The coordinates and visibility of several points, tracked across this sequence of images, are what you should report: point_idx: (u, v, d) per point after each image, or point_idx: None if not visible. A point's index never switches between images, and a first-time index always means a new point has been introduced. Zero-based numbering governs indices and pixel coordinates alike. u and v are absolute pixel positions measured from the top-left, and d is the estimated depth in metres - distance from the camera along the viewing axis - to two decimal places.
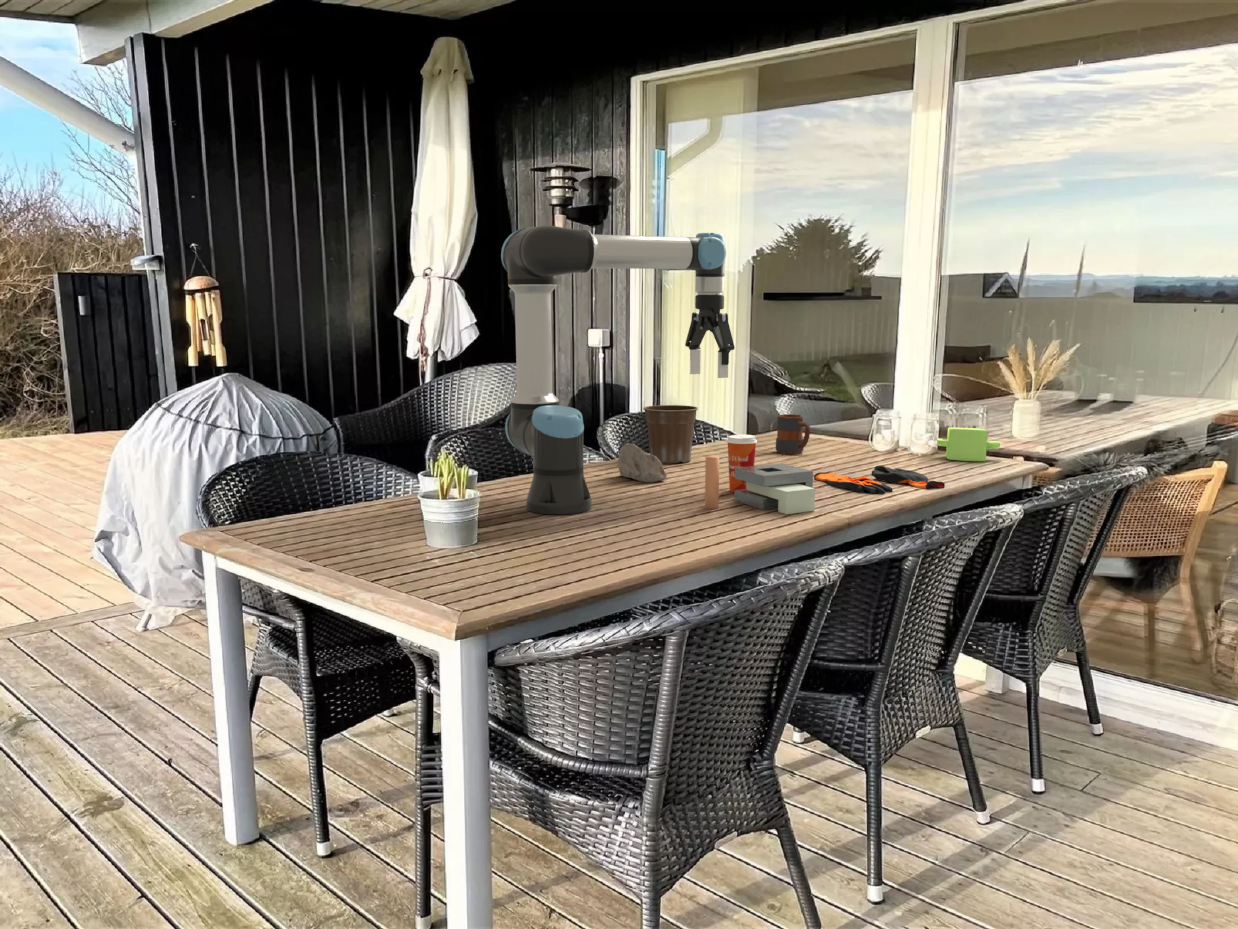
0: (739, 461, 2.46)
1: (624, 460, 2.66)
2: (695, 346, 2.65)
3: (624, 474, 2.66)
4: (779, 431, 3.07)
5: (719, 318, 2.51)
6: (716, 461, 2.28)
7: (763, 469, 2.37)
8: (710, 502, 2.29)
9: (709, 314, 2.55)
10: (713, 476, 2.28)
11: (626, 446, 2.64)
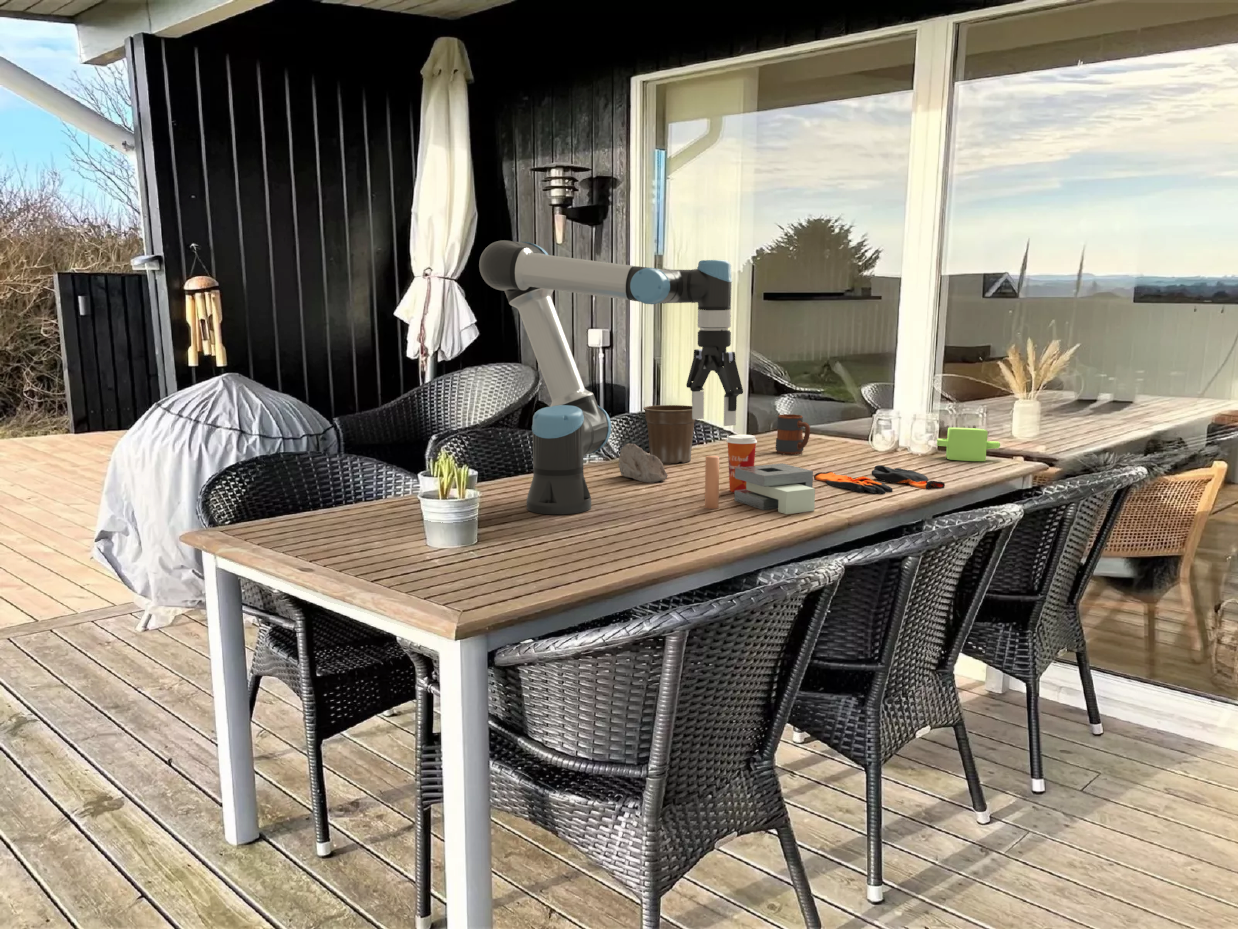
0: (739, 461, 2.46)
1: (625, 460, 2.66)
2: (698, 387, 2.33)
3: (625, 474, 2.67)
4: (779, 431, 3.07)
5: (725, 358, 2.19)
6: (716, 461, 2.28)
7: (763, 469, 2.37)
8: (710, 502, 2.29)
9: (714, 352, 2.23)
10: (713, 476, 2.28)
11: (627, 446, 2.64)
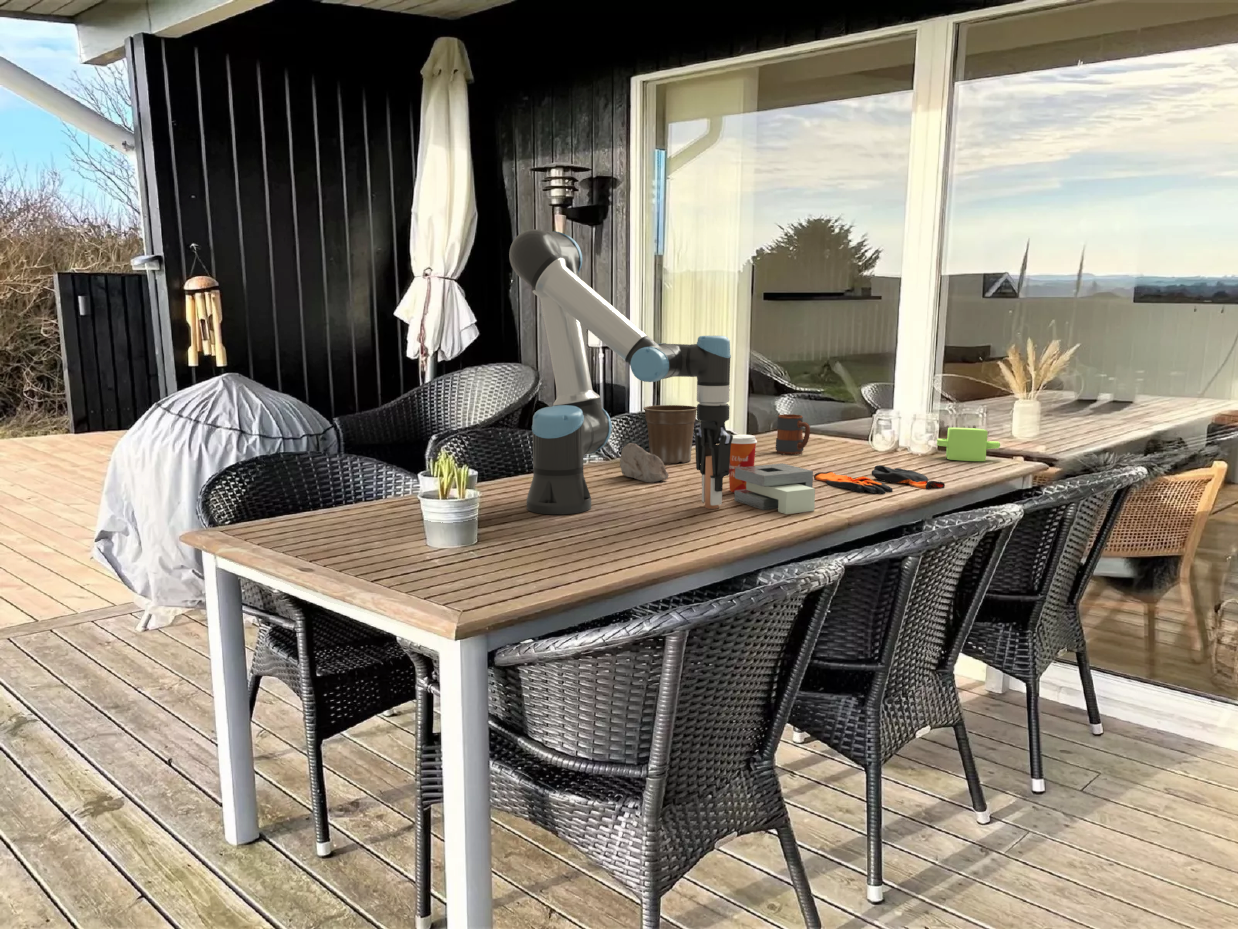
0: (739, 461, 2.46)
1: (626, 460, 2.66)
2: None
3: (626, 474, 2.67)
4: (779, 431, 3.07)
5: (722, 441, 2.23)
6: None
7: (763, 469, 2.37)
8: None
9: (714, 424, 2.25)
10: None
11: (628, 446, 2.64)
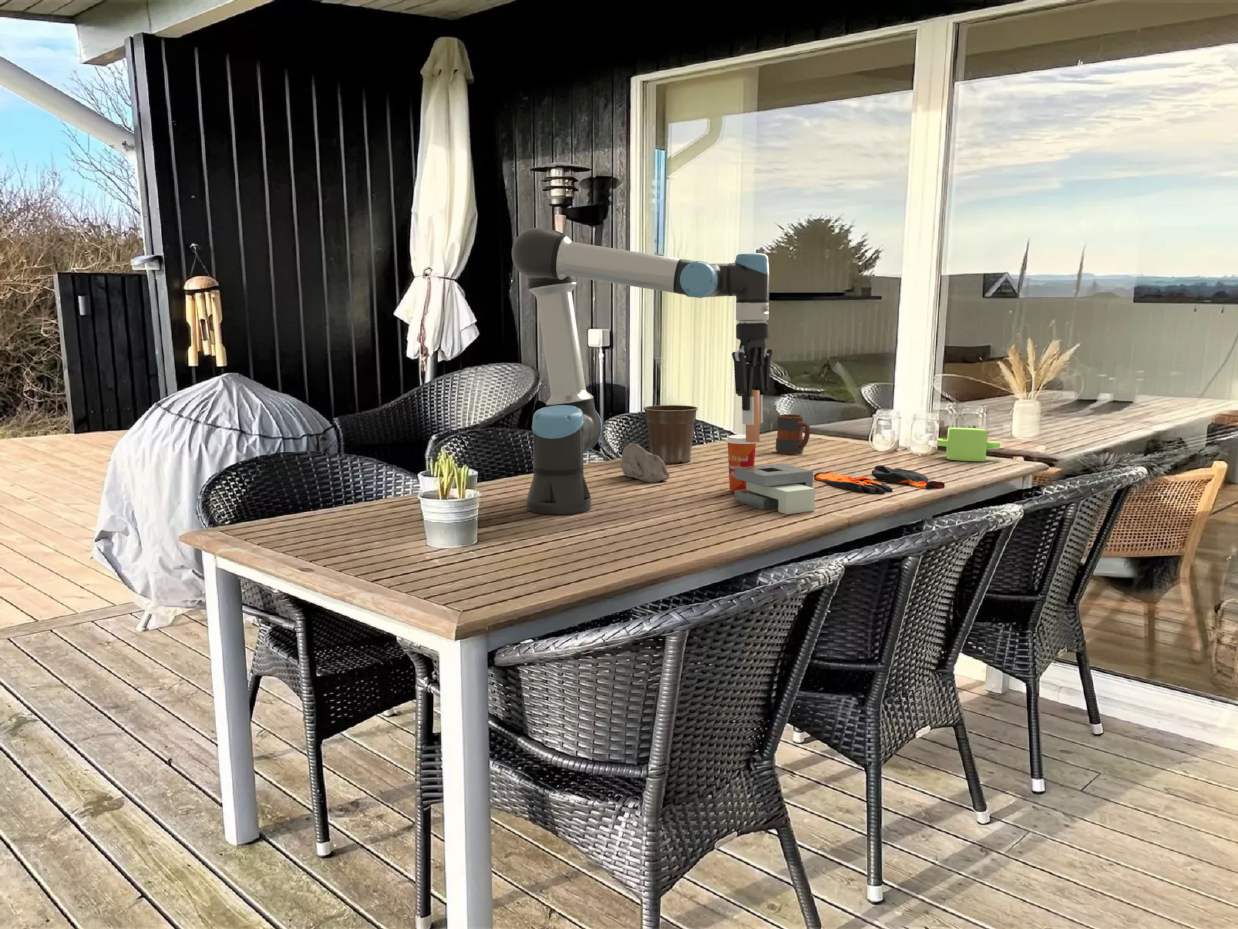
0: (739, 461, 2.46)
1: (627, 460, 2.66)
2: (759, 390, 2.31)
3: (627, 474, 2.67)
4: (779, 431, 3.07)
5: None
6: None
7: (763, 469, 2.37)
8: None
9: None
10: None
11: (629, 446, 2.65)
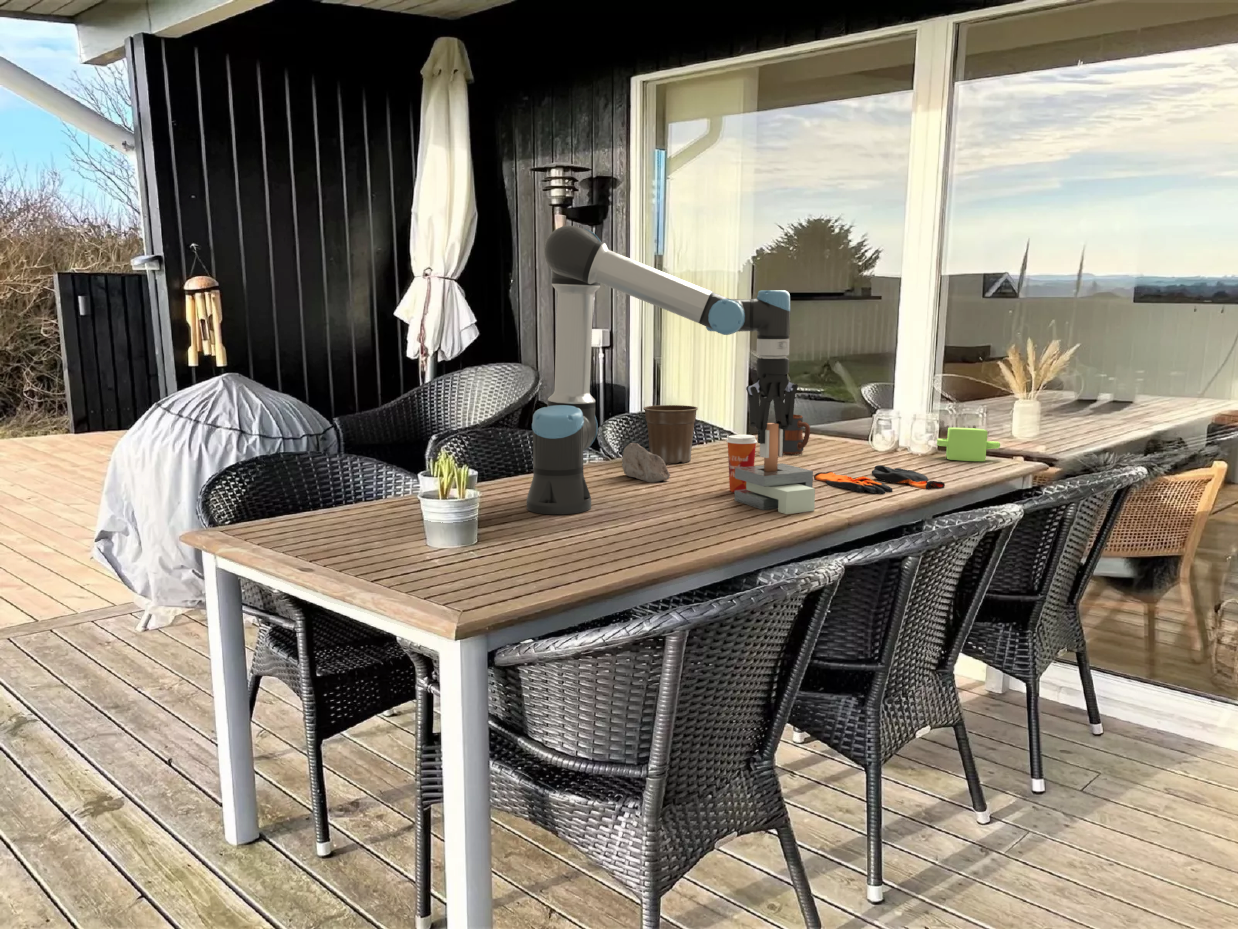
0: (739, 461, 2.46)
1: (628, 459, 2.66)
2: (780, 424, 2.34)
3: (628, 473, 2.67)
4: None
5: None
6: None
7: (763, 469, 2.37)
8: (764, 466, 2.35)
9: None
10: None
11: (630, 446, 2.65)
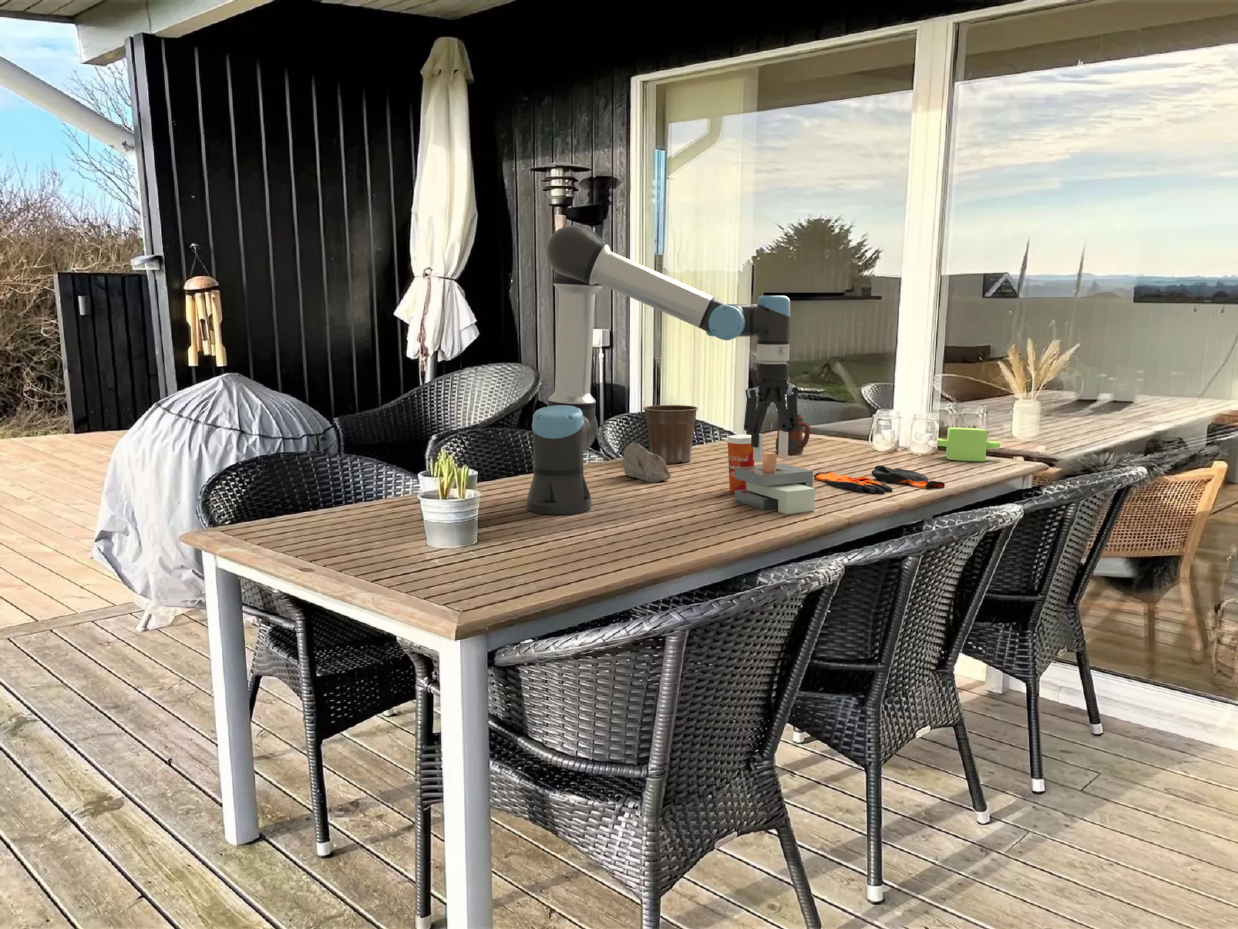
0: (739, 461, 2.46)
1: (628, 459, 2.67)
2: (786, 427, 2.35)
3: (628, 473, 2.67)
4: None
5: None
6: (764, 457, 2.33)
7: None
8: None
9: None
10: None
11: (630, 445, 2.65)
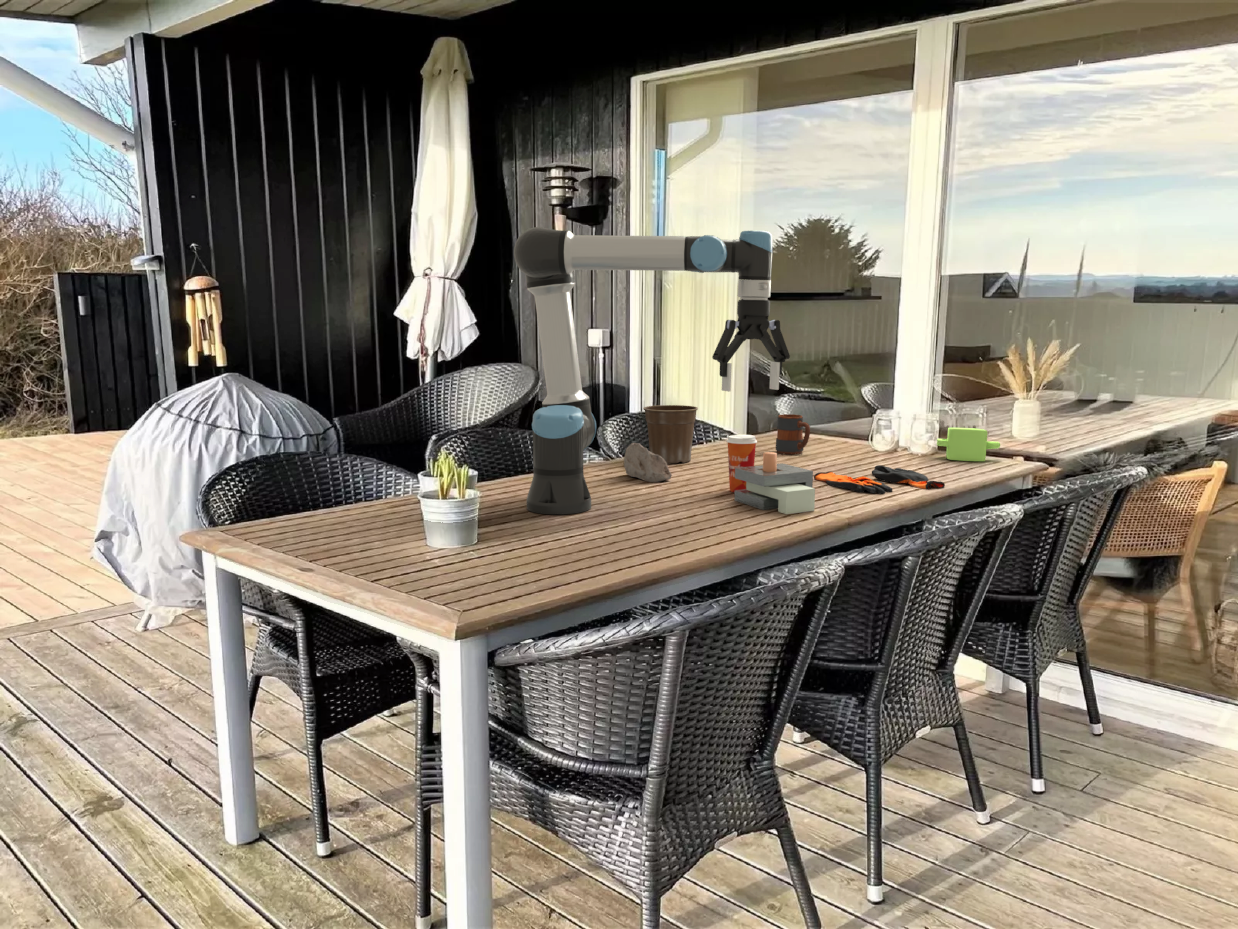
0: (739, 461, 2.46)
1: (630, 459, 2.67)
2: None
3: (630, 473, 2.68)
4: (779, 431, 3.07)
5: None
6: (764, 457, 2.33)
7: None
8: None
9: None
10: None
11: (632, 445, 2.65)
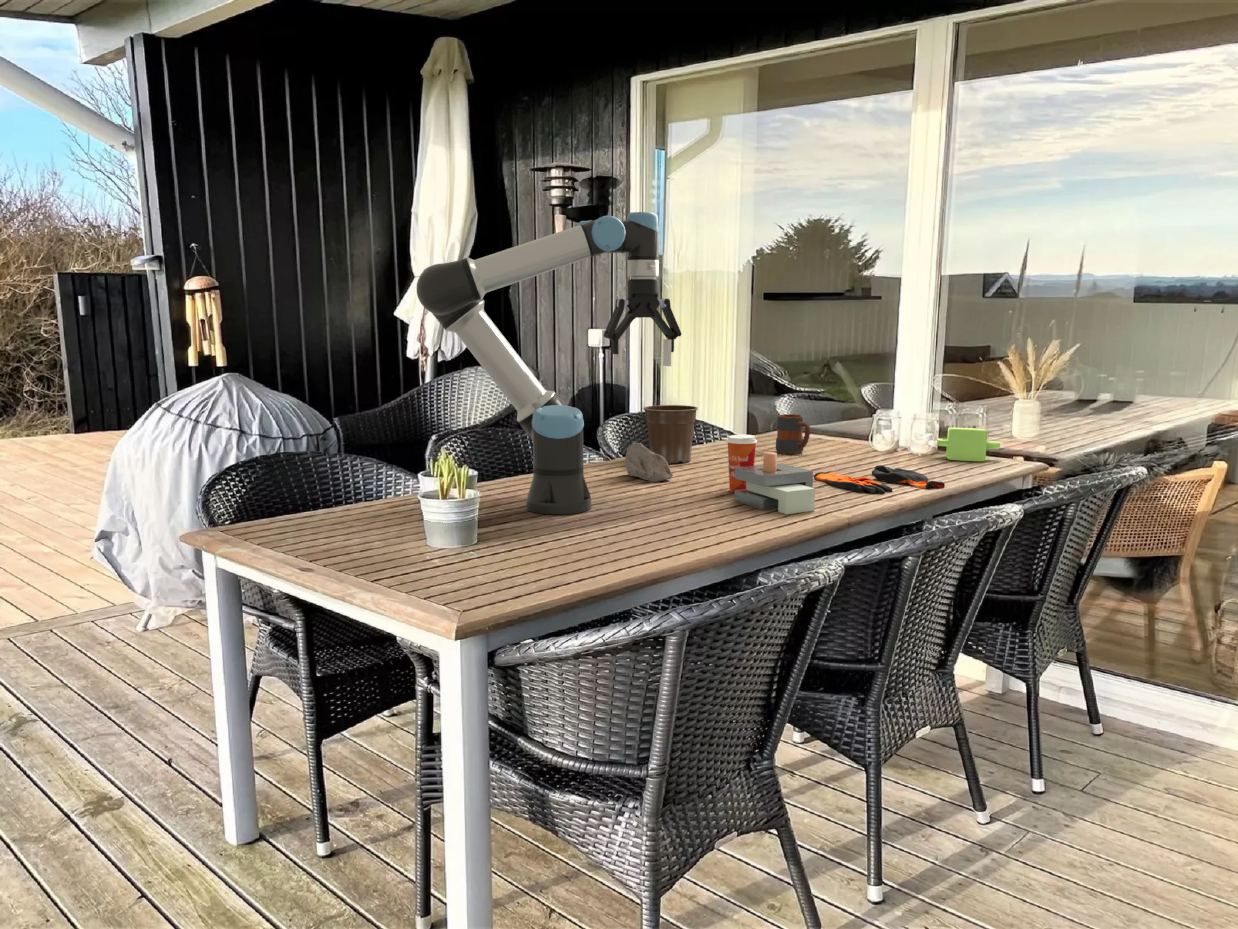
0: (739, 461, 2.46)
1: (631, 459, 2.67)
2: (669, 336, 2.43)
3: (631, 473, 2.68)
4: (779, 431, 3.07)
5: None
6: (764, 457, 2.33)
7: None
8: None
9: None
10: None
11: (633, 445, 2.66)
